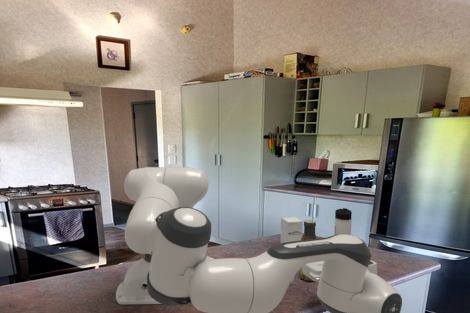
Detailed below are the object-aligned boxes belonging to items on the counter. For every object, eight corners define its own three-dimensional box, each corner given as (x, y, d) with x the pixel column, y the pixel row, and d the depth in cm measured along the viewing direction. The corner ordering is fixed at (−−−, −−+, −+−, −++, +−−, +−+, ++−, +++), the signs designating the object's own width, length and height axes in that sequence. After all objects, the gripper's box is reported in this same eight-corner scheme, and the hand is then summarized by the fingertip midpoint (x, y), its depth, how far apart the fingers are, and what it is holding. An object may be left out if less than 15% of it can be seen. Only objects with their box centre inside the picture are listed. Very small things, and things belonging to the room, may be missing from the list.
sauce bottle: (318, 282, 100) (320, 224, 99) (299, 280, 101) (301, 223, 100) (317, 274, 106) (318, 219, 105) (299, 272, 108) (300, 218, 106)
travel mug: (351, 257, 121) (353, 209, 120) (348, 263, 116) (350, 212, 115) (335, 254, 125) (337, 207, 123) (331, 259, 119) (333, 210, 118)
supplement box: (286, 250, 128) (287, 221, 127) (280, 244, 135) (280, 217, 134) (302, 249, 130) (303, 221, 129) (295, 243, 137) (295, 216, 136)
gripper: (315, 292, 79) (293, 269, 93) (380, 284, 84) (350, 263, 97) (315, 269, 79) (293, 249, 92) (381, 262, 84) (351, 244, 97)
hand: (323, 256), depth 95 cm, fingers open, 8 cm apart
